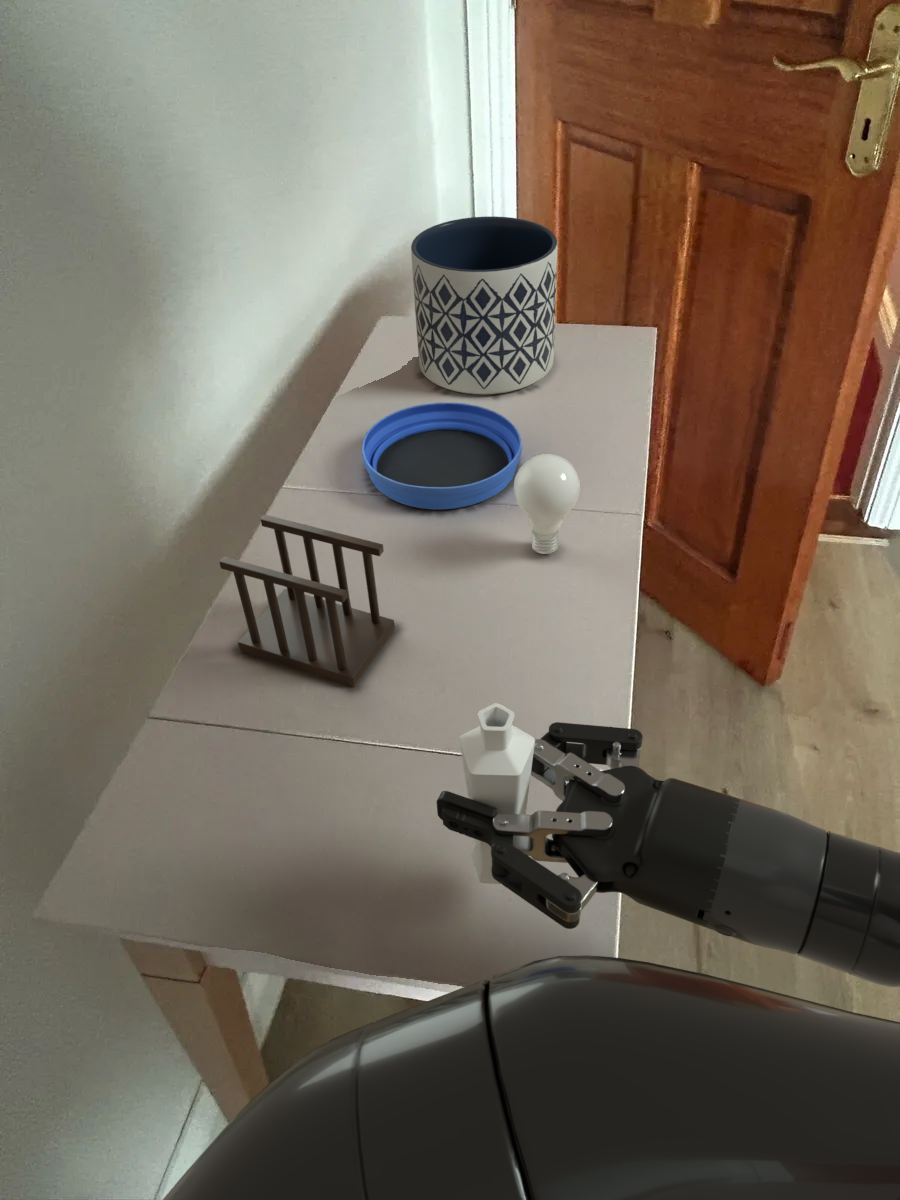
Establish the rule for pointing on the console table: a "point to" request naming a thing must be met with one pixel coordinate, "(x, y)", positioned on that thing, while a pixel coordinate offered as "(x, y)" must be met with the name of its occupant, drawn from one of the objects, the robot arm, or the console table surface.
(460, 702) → the console table surface
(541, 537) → the lightbulb
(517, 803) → the perfume bottle
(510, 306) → the planter
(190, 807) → the console table surface
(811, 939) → the robot arm
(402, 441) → the bowl
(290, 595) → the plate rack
